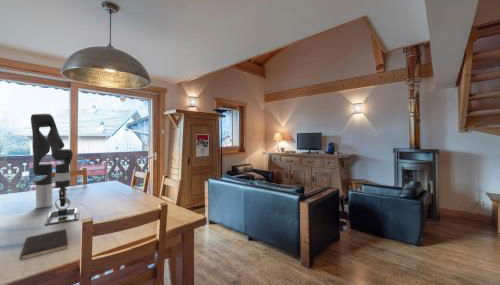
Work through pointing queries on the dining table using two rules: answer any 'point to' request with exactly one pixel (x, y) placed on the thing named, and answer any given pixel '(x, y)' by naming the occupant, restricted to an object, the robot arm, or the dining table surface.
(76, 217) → the rack
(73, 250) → the dining table surface
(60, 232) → the hardcover book
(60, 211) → the watch
